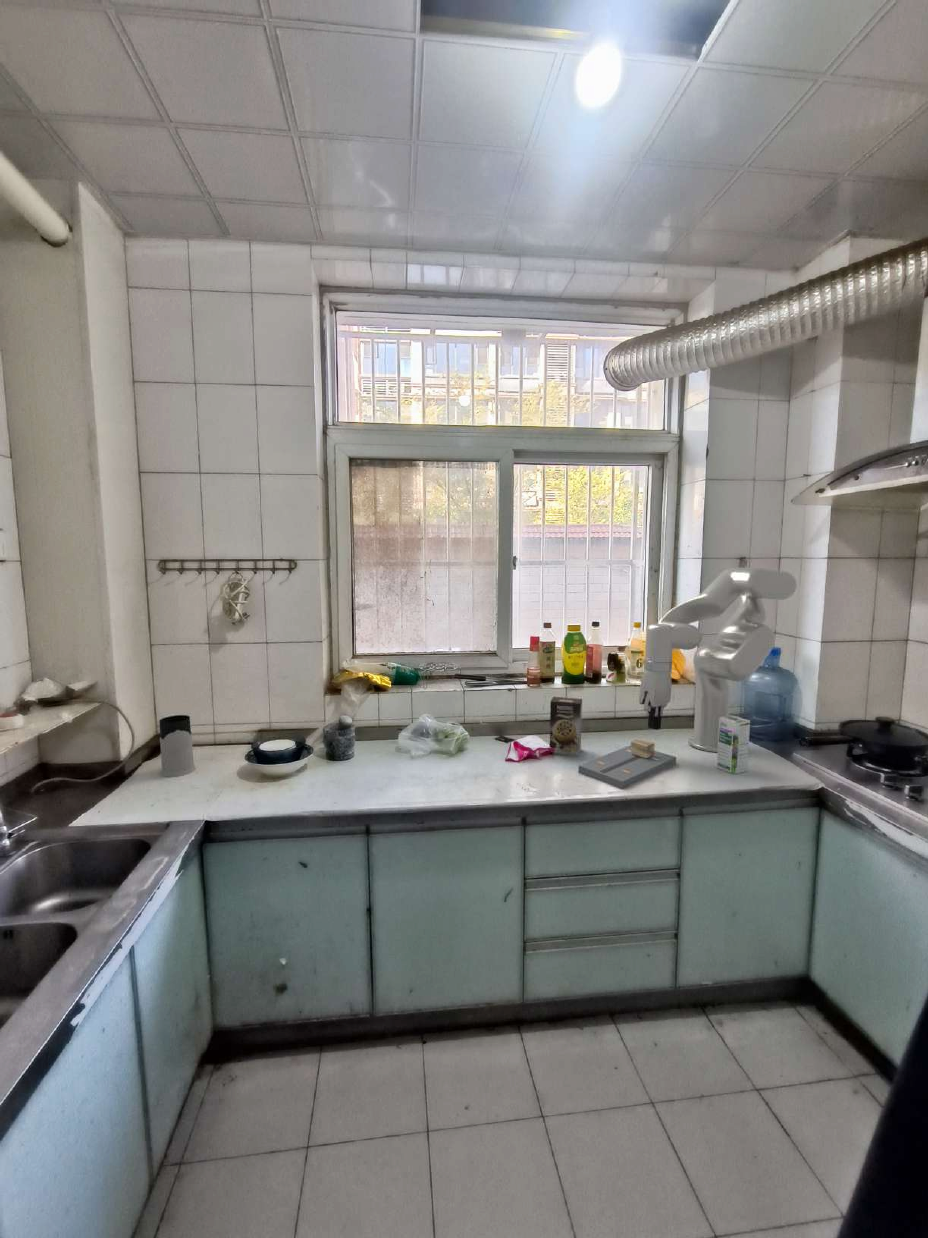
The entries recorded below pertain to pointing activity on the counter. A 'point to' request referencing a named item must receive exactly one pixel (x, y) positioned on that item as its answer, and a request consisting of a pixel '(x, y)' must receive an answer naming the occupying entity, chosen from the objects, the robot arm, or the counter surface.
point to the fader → (642, 748)
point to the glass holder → (176, 746)
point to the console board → (625, 767)
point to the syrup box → (733, 744)
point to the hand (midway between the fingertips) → (654, 728)
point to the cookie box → (565, 725)
